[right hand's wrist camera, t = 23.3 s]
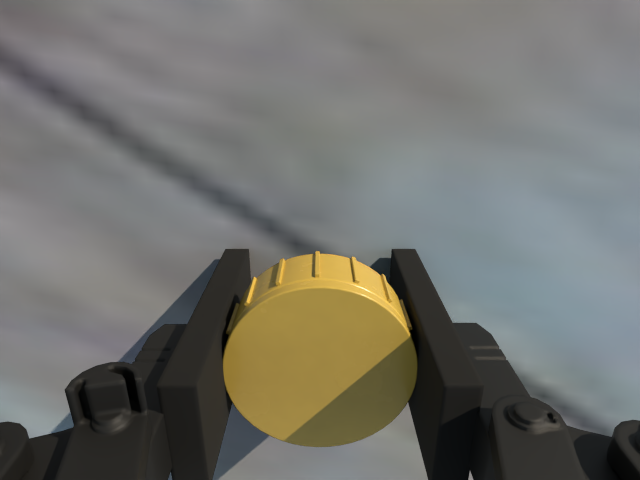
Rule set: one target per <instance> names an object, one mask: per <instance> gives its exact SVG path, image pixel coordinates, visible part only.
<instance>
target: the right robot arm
mask: <svg viewBox="0 0 640 480" xmlns="http://www.w3.org/2000/svg"><path fill="white" fill-rule="evenodd" d="M250 283H251V276H250V261H249V249H225V251H224V253H223V255H222V257H221V259H220V261H219V263H218V265H217V267H216V269H215V271H214V273H213V275H212V277H211V279H210V281H209V283H208V285H207V287H206V289H205V291H204V293H203V295H202V296H201V298H200V300H199V302H198V304H197V306H196V308H195V310H194V312H193V314H192V316H191V318H190V320H189V322H188V324H164V325H163V326H162V327H160V328H159V329H158V330H156V331H155V332H154V333H152V334H151V335H150V336H149V338H148V339H147V341H146V342H145V344H144V346H143V347H142V351H140V352H139V354H138V355H137V357H136V358H135V362H133V363H132V364H129V363H126V362H110V363H106V364H102V365H98V366H95V367H93V368H90V369H88V370H86V371H84V372H82V373H81V374H79V375H78V376H77V377H75V378H74V379H73V380H71V382H70V383H69V385H68V386H67V387H66V389H65V393H66V397H67V400H68V404H69V408H70V412H71V415H72V419H73V423H74V427H73V428H70V429H67V430H64V431H60V432H56V433H52V434H47V435H43V436H39V437H35V438H30V439H29V436H28V433H27V430H26V429H25V428H24V427H23V426H22V425H21V424H19V423H13V422H1V423H0V480H168V477H169V475H170V472H171V474H172V480H212V478H213V475H214V471H215V467H216V463H217V459H218V455H219V451H220V448H221V444H222V440H223V436H224V432H225V428H226V425H227V421H228V417H229V413H230V409H231V405H232V401H231V399H230V397H229V395H228V393H227V390H226V387H225V383H224V373H223V362H222V358H223V353H224V348H225V345H226V342H227V339H228V336H229V335H228V334H226V331H227V328H228V326H229V323H230V320H231V317H232V314H233V311H234V308H235V305H236V303H238V304H240V301H241V299H242V297H243V295H244V293H245V291H246V290H247V289H248V287H249V286H250ZM390 286H391V287H392V288H393V290H394V292H395V293H396V295H397V296H398V299H399V300H401V299H402V300H403V302H404V305H405V308H406V311H407V314H408V317H409V320H410V323H411V325H412V328H413V330H410V333H411V336H412V339H413V342H414V345H415V348H416V352H417V359H418V369H417V379H416V384H415V388H414V390H413V393H412V395H411V397H410V399H409V401H408V403H409V407H410V411H411V415H412V418H413V422H414V426H415V430H416V434H417V438H418V442H419V445H420V449H421V453H422V457H423V461H424V465H425V469H426V472H427V476H428V480H468V477H469V471H471V474H472V476H473V479H474V480H640V421H638V420H630V421H624V422H621V423H620V424H619V425H617V426H616V427H615V429H614V432H613V435H612V437H609V436H605V435H601V434H596V433H592V432H588V431H583V430H579V429H576V428H573V427H570V426H567V425H566V424H565V422H564V421H563V419H562V417H561V416H560V414H559V413H557V412H556V411H555V410H554V409H553V408H552V407H550V406H549V405H547V404H545V403H543V402H541V401H540V400H538V399H535V398H531V397H530V395H529V394H528V392H527V391H526V389H525V387H524V386H523V384H522V383H521V381H520V379H519V378H518V376H517V375H516V373H515V371H514V370H513V368H512V367H511V365H510V363H509V362H508V360H506V357H505V356H504V354H503V352H502V351H501V349H499V346H498V344H497V343H496V341H495V340H494V338H493V336H492V335H491V334H490V333H489V332H488V331H486V330H485V329H484V328H482V327H481V326H480V325H478V324H477V323H452V321H451V319H450V317H449V315H448V313H447V311H446V309H445V307H444V305H443V303H442V301H441V299H440V297H439V295H438V293H437V291H436V289H435V287H434V285H433V283H432V281H431V279H430V277H429V275H428V274H427V272H426V270H425V268H424V266H423V264H422V262H421V260H420V258H419V256H418V254H417V252H416V250H415V249H392V255H391V271H390Z"/></svg>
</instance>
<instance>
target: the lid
mask: <svg viewBox="0 0 640 480" xmlns="http://www.w3.org/2000/svg"><path fill="white" fill-rule="evenodd" d="M410 330H413V328H412V325H411V323H410V320H409V317H408V314H407V311H406V308H405V305H404V302H403V300H402V299H401V300H399V299H398V296H397V295H396V293H395V292H394V290H393V288H392V287H391V286H390V285H389V284H388V282H387V280H386V277H385V275H384V274H381V275H379V274H378V273H377V272H376V271H374V270H373V269H371V268H370V267H368V266H366V265H364V264H362V263H360V262H358V261H356V258H355V257H351V259H350V258H347V257H343V256H338V255H331V254H320V251H316V252H315V254H309V255H302V256H297V257H294V258H290V259H287V260H284V258H283V259H280V262H279V263H278V264H276V265H274V266H272V267H271V268H269V269H267V270H266V271H265V272H263V273H262V274H261V275H259V276H258V277H257V278H255V277H253V278H252V280H251V283H250V286H249V287H248V289H247V290H246V291H245V293H244V295H243V297H242V299H241V301H240V304H238V303H236V305H235V308H234V311H233V314H232V317H231V320H230V323H229V326H228V328H227V331H226V334H228V335H229V336H228V339H227V342H226V345H225V348H224V353H223V358H222V362H223V373H224V383H225V387H226V390H227V393H228V395H229V397H230V399H231V401H232V402H233V404H234V406H235V407H236V409H237V410H238V411H239V412H240V413H241V414H242V416H243V417H244V418H245V419H246V420H248V421H249V422H250V423H251V424H252V425H253V426H255V427H256V428H258V429H259V430H261V431H262V432H264V433H266V434H268V435H270V436H272V437H274V438H276V439H279V440H281V441H285V442H288V443H292V444H296V445H302V446H310V447H331V446H339V445H344V444H348V443H352V442H355V441H358V440H361V439H364V438H366V437H368V436H370V435H373V434H374V433H376V432H378V431H379V430H381V429H383V428H384V427H385V426H387V425H388V424H389V423H390V422H392V421H393V420H394V419H395V418H396V417H397V416H398V415H399V414H400V412H401V411H402V410H403V409H404V407H405V406H406V404H407V403H408V401H409V399H410V397H411V395H412V393H413V390H414V388H415V384H416V379H417V369H418V359H417V352H416V348H415V345H414V342H413V339H412V336H411V333H410Z"/></svg>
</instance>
